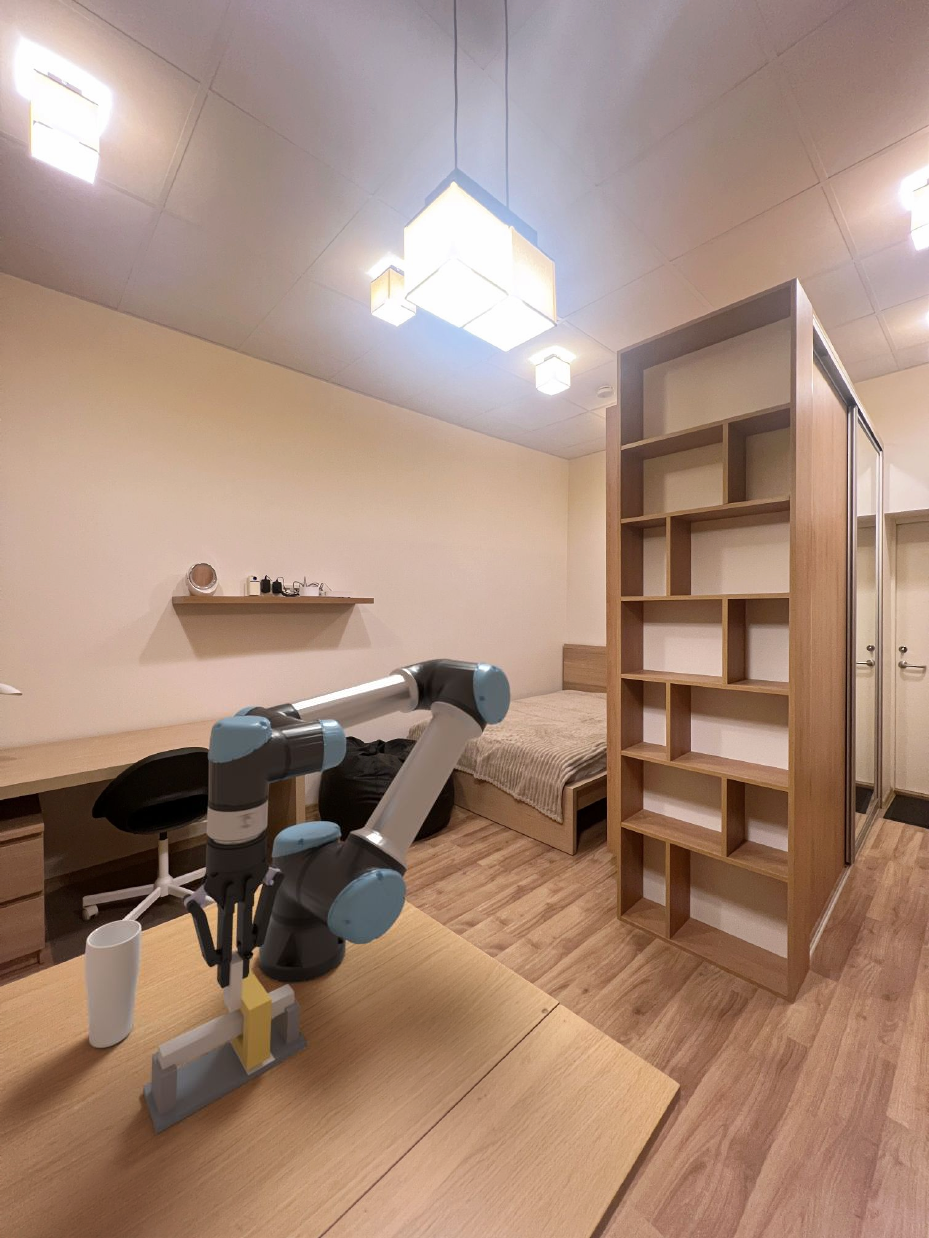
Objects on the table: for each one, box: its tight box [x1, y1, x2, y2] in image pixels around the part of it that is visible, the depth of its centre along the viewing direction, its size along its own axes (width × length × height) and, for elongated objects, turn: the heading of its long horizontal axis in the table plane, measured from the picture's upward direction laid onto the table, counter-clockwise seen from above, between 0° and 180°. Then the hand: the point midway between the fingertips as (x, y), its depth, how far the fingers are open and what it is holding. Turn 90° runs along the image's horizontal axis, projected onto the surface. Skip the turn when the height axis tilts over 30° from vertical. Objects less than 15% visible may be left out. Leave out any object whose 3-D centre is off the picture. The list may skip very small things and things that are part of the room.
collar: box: [226, 967, 272, 1070], centre depth 72 cm, size 8×3×8 cm, turn 43°
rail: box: [142, 983, 308, 1135], centre depth 70 cm, size 7×19×7 cm, turn 133°
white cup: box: [84, 919, 143, 1049], centre depth 75 cm, size 7×7×15 cm
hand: (232, 1003), depth 70 cm, fingers closed
